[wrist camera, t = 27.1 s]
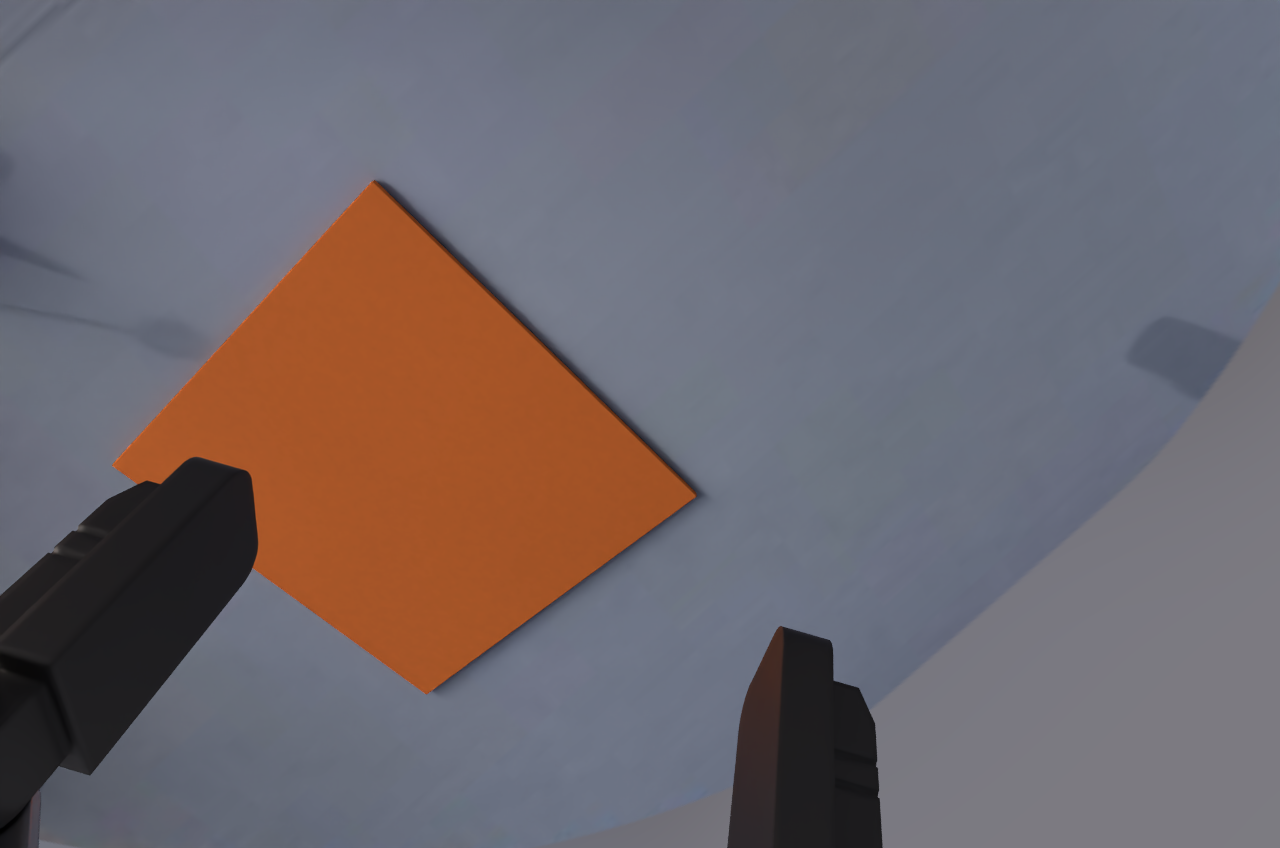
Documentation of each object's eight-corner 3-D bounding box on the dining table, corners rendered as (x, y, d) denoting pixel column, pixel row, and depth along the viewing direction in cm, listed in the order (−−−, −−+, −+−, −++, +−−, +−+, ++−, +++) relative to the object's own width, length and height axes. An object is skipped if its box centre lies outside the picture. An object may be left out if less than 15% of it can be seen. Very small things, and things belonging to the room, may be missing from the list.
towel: (696, 492, 36) (696, 496, 35) (427, 690, 42) (426, 695, 41) (375, 179, 30) (372, 180, 29) (115, 461, 36) (111, 465, 35)
